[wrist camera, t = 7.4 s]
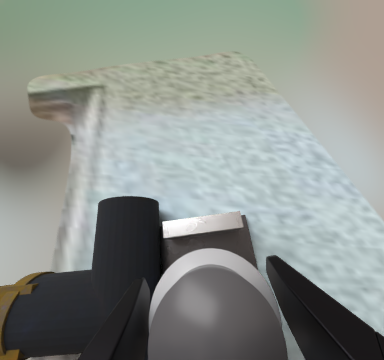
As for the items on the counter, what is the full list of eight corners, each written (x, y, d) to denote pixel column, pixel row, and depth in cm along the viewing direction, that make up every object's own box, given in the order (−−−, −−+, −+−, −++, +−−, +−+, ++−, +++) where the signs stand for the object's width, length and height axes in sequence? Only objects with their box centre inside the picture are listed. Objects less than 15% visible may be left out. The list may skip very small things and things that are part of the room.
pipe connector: (-96, 527, 8) (1, 208, 14) (16, 423, 13) (54, 219, 19) (150, 513, 8) (149, 192, 13) (170, 412, 13) (164, 207, 18)
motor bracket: (295, 440, 12) (349, 559, 7) (173, 451, 12) (153, 573, 7) (244, 215, 17) (257, 204, 12) (160, 227, 17) (144, 219, 13)
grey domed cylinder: (249, 301, 14) (359, 434, 4) (192, 324, 14) (152, 532, 4) (225, 240, 16) (256, 225, 6) (174, 260, 16) (111, 281, 5)
